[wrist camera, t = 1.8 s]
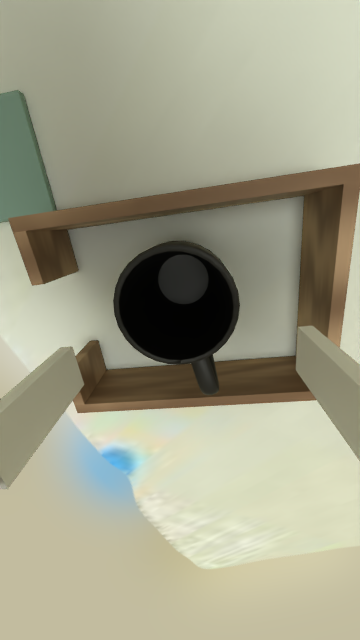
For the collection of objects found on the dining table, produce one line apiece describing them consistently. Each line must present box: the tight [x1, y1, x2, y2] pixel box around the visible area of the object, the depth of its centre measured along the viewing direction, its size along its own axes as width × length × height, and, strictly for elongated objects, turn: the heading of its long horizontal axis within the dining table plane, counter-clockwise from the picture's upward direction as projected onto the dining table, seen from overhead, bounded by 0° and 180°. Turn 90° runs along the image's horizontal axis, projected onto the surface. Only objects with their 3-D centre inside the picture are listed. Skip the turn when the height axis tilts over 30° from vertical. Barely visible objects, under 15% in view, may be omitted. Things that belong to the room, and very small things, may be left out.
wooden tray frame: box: [8, 164, 360, 413], centre depth 22 cm, size 18×24×6 cm
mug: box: [113, 241, 240, 395], centre depth 20 cm, size 8×12×10 cm
